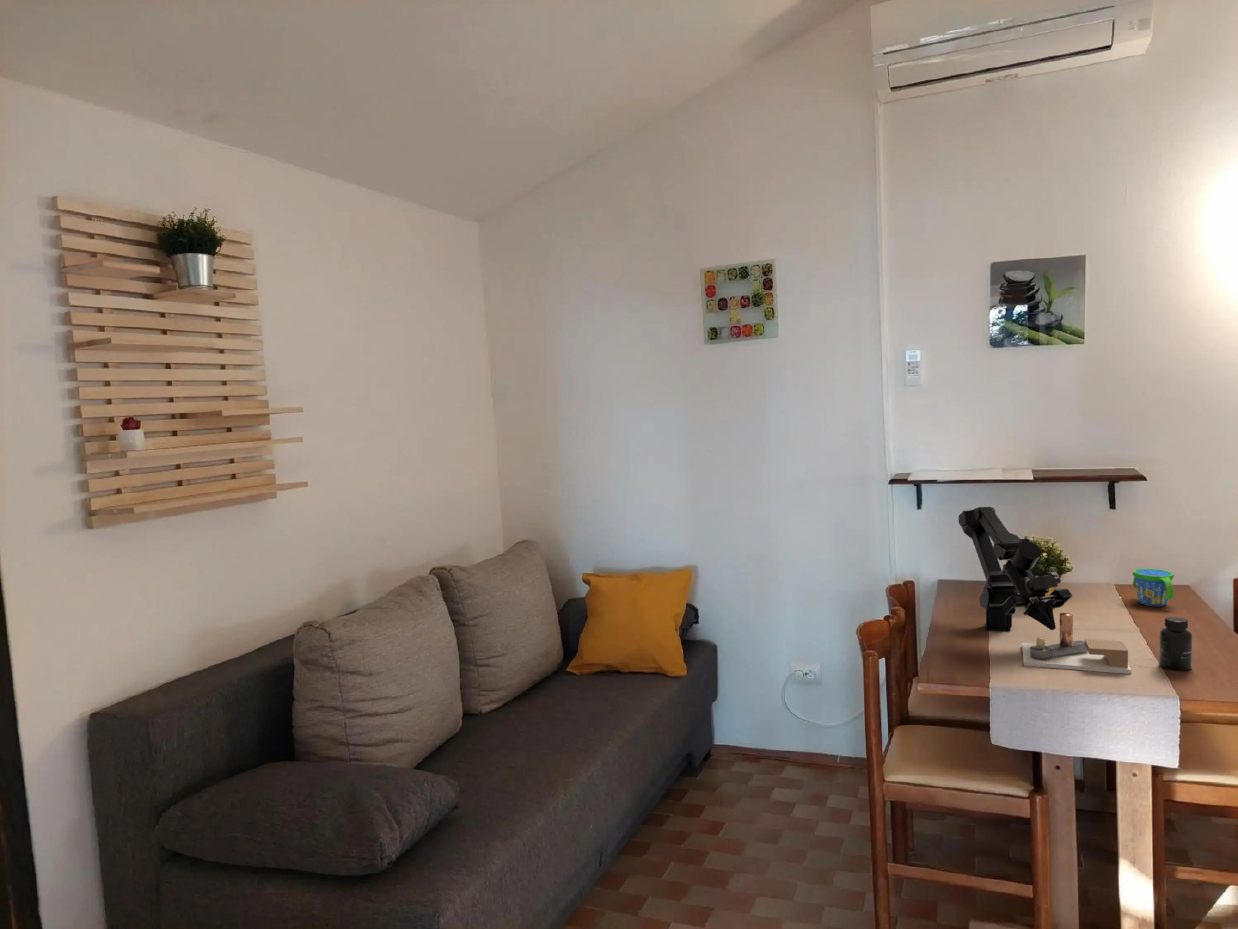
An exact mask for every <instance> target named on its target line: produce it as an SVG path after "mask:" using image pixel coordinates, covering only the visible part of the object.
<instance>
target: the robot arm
mask: <svg viewBox="0 0 1238 929" xmlns="http://www.w3.org/2000/svg"><path fill="white" fill-rule="evenodd" d="M998 516H999V515H997V514H996V510H995V508H994V507H992V506H979V507H975V508H974V509H970V510H967V509H966V510H962V512H961V513H960V514H958V524H959V526H960V527H961V530H962V532H963V533H964V534H965V535H966V536H967V537H969V538H970V539H971V540H972V543H973V545H974V546H973V547H975V551H976V554H977V557H978V560H979V563H980V566H981V568H982V572H983V574H984V577H985V582H984V585H983V586H982V587H983V588H982V590H983V591H982V592H981V594H980V596H979V598H978V599H979V606H981V607H982V608H984V609H985V630H991V631H992V630H993V631H1001V632H1002V631H1005V632H1008V631H1009V632H1010V631H1011V628H1012V627H1013V615H1014V614H1015V613H1016V608H1022V607H1024V610H1025V611H1024V612H1023V615H1025V616H1028V617H1030V618H1032V619H1033V620H1035V621H1037V622H1038V623H1040V624H1041V625H1043V626H1045V628H1047V629H1049V630H1051V631H1054V630H1056V628H1057V626H1056V622H1055V617H1054V609H1058V608H1061V607H1063V606H1064V605H1065V604H1066V603H1068V601H1069V600H1071V598H1073V594H1072V593H1071V591H1070V590H1069V589H1068V588H1058V589H1057V587H1058V584H1061V583H1062V581H1061V577H1060V575H1059V574H1058V573H1057V571H1051V572H1048V573H1046V575H1041V576H1039V575H1034V574H1033V573H1032V570H1031V569H1033V568H1034V566H1035V564H1036V563H1037V562H1038V560H1039V559H1040V556H1041V555H1042V550H1041V548H1040V547H1039V546H1038V545H1037V544H1035V543H1034V542H1031V541H1030V539H1029V538H1020V537H1019V536H1018V535H1017V534H1013V533H1011V532H1009V530H1008V529H1007V527H1006V526H1005V525H1004V524H1003V522H1002V521H1001V519H1000V517H998ZM992 542H993V543H992ZM1000 561H1006V563H1005V564H1003V565H1002V568H1001V565H1000ZM1052 588H1056V589H1054V590H1052V592H1051V593H1050V594H1048V593H1049V592H1050V589H1052ZM1046 594H1048V595H1046Z"/></svg>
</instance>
